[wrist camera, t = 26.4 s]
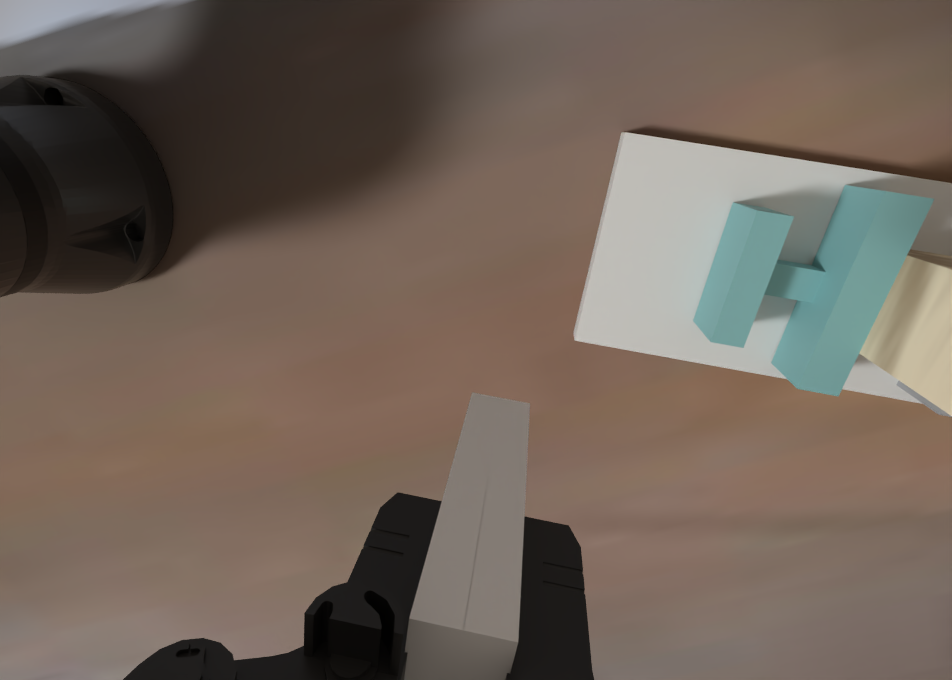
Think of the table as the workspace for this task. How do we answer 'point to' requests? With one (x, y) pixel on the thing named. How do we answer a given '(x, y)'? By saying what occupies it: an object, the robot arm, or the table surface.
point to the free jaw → (811, 281)
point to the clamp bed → (696, 241)
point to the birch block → (917, 328)
